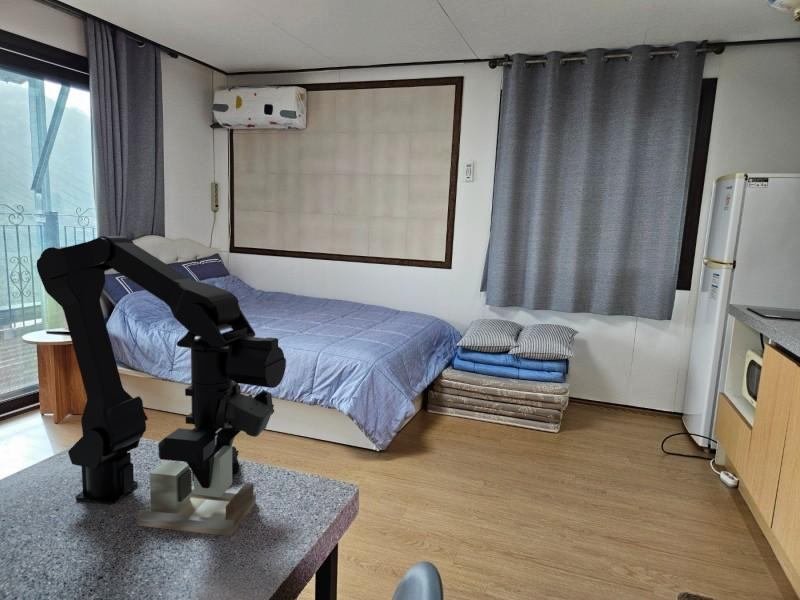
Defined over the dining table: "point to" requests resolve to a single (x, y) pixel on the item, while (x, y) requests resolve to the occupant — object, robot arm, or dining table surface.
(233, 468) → the tape measure
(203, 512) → the open tray
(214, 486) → the block
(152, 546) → the dining table surface
